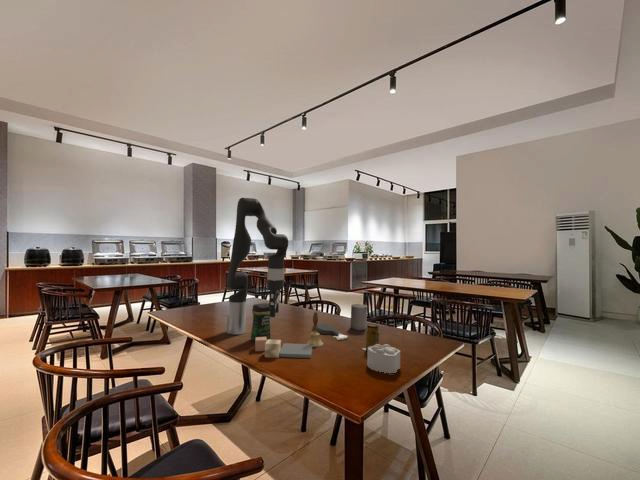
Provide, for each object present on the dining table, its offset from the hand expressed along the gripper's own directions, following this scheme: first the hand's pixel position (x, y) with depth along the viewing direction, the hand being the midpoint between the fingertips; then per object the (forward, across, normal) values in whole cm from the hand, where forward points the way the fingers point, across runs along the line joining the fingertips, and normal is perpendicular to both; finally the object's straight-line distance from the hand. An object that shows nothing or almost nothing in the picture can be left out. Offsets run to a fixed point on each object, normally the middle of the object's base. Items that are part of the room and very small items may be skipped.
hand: (274, 314), depth 138 cm
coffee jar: (+18, -21, -10) cm, 29 cm away
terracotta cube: (+18, -7, -7) cm, 20 cm away
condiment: (+18, -11, +46) cm, 51 cm away
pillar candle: (+18, -51, +43) cm, 69 cm away
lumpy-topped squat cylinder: (+18, +9, +47) cm, 51 cm away
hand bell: (+18, -17, +18) cm, 31 cm away
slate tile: (+18, -5, +10) cm, 21 cm away
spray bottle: (+18, -37, +26) cm, 49 cm away
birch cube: (+18, 0, 0) cm, 18 cm away
